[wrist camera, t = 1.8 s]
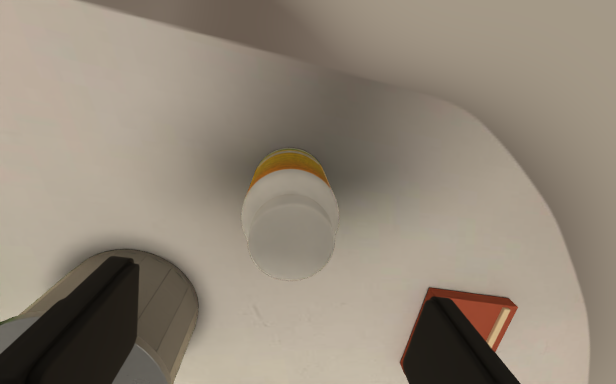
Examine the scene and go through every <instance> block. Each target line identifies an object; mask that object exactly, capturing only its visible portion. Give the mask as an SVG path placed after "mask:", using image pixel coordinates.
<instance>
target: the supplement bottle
mask: <svg viewBox="0 0 616 384" xmlns="http://www.w3.org/2000/svg"><path fill="white" fill-rule="evenodd" d="M241 222H242V228H243V231H244V234H245V236H246V238H247V240H248V250H249V253H250V256H251V258H252V260H253V262H254V263H255V264H256V266H257V267H258V268H259V269H260V270H261V271H263V272H264V273H265V274H267V275H269V276H271V277H273V278H276V279H280V280H286V281H297V280H302V279H305V278H308V277H311V276H313V275H314V274H316V273H317V272H319V271H320V270H321V269H322V268H323V267H324V266H325V265H326V264H327V263H328V261H329V260H330V258H331V256H332V253H333V250H334V245H335V235H336V232H337V229H338V225H339V208H338V204H337V201H336V198H335V195H334V193H333V191H332V189H331V186H330V184H329V182H328V179H327V177H326V175H325V172H324V170H323V168H322V166H321V165H320V163H319V162H318V161H317V160H316V159H315V158H314V157H313V156H312V155H311V154H309V153H307V152H306V151H303V150H300V149H296V148H283V149H279V150H276V151H274V152H272V153H270V154H269V155H267V156H266V157H265V158H264V159H263V160H262V161H261V162H260V164H259V165H258V167H257V169H256V171H255V173H254V176H253V179H252V182H251V184H250V187H249V189H248V192H247V194H246V197H245V200H244V203H243V207H242V213H241Z"/></svg>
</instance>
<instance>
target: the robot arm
mask: <svg viewBox="0 0 616 384" xmlns="http://www.w3.org/2000/svg"><path fill="white" fill-rule="evenodd" d="M138 297H139V264H135V263H134V260H133V259H132V258H127V257H120V256H110V257H109V258H107V259H106V260H105V261H104V262H103V263H102V264H101V265H100V266H99V267H98V268H97V269H96V270H95V271H94V272H92V273H91V274H90V275H89V276H88V277H87V278H86V279H85V280H84V281H83V282H82V283H81V284H80V285H79V286H78V287H76V288H75V289H74V290H73V291H72V292H71V293H70V294H69V295H68V296H67V297H66V298H64V299H61V300H59V301H58V302H57V303H55V304H54V305H53V306H52V307H51V308H50V309H49V310H48V311H47V312H45V313H44V314H43V315H42V316H41V317H40V318H39V319H38V320H37V321H36V322H35V323H33V324H32V325H31V326H30V327H29V328H28V329H27V330H26V331H25V332H24V333H23V334H21V335H20V336H19V337H18V338H17V339H16V340H15V341H14V342H13V343H12V344H11V345H10V346H8V347H7V348H6V349H5V350H4V351H3V352H2V353H1V354H0V384H112V382H113V381H114V379H115V377H116V376H117V374H118V372H119V371H120V369H121V367H122V366H123V364H124V362H125V360H126V359H127V357H128V355H129V354H130V352H131V350H132V349H133V347H134V344H135V342H136V338H137V325H138ZM403 369H404V373H405V375H406V377H407V380H408V382H409V384H520V383H519V381H518V380H517V379H516V378H515V376H514V375H513V374H512V373H511V372H510V370H509V369H508V368H507V367H506V365H505V364H504V363H503V362H502V360H501V359H500V358H499V357H498V356H497V354H496V353H495V352H494V351H493V349H492V348H491V347H490V346H489V345H488V343H487V342H486V341H485V340H484V338H483V337H482V336H481V335H480V333H479V332H478V331H477V330H476V329H475V327H474V326H473V325H472V324H471V322H470V321H469V320H468V319H467V318H466V316H465V315H464V314H463V313H462V311H461V310H460V309H459V308H458V307H457V305H456V304H455V303H454V302H453V300H451V299H450V298H445V297H437V296H433V297H431V298H430V299H429V300H427V301H426V302H425V304H424V306H423V309H422V311H421V314H420V317H419V319H418V322H417V325H416V327H415V330H414V333H413V335H412V338H411V341H410V343H409V346H408V349H407V351H406V354H405V357H404V360H403Z"/></svg>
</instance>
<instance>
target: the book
mask: <svg viewBox="0 0 616 384" xmlns="http://www.w3.org/2000/svg"><path fill="white" fill-rule="evenodd" d="M433 296H437V297H445V298H450V299H451V300H453V302H454V303H455V304H456V305H457V307H458V308H459V309H460V310H461V311H462V313H463V314H464V315H465V316H466V318H467V319H468V320H469V321H470V322H471V324H472V325H473V326H474V327H475V329H476V330H477V331H478V332H479V333H480V335H481V336H482V337H483V338H484V340H485V341H486V342H487V343H488V345H489V346H490V347H491V348H492V349H493V351H494V352H495V351H496V349H497V347H498V345H499V343H500V342H501V340H502V338H503V336H504V334H505V332H506V330H507V328H508V326H509V324H510V322H511V320H512V318H513V316H514V314H515V312H516V310H517V308H518V307H517V306H516V305H515V304H514V303H513V302H512V301H511V300H510V299H508V298H501V297H494V296H486V295H479V294H472V293H464V292H457V291H450V290H442V289H435V288H429V290H428V292H427V295H426V298H425V300H424V303H423V305H422V308H421V311H422V309H423V306H424V304H425V302H426V301H427V300H429V299H430V298H431V297H433ZM421 311H420V313H419V316H418V318H417V321H416V323H415V326H414V329H413V331H412V334H411V336H410V339H409V342H408V344H407V347H406V349H405V352H404V355H403V357H402V360H401V362H400V364H401V367H402V369H403V360H404V357H405V354H406V351H407V349H408V346H409V343H410V341H411V338H412V335H413V333H414V330H415V327H416V325H417V322H418V319H419V317H420V314H421ZM403 372H404V369H403ZM404 374H405V373H404Z"/></svg>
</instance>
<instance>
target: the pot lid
mask: <svg viewBox="0 0 616 384" xmlns="http://www.w3.org/2000/svg"><path fill="white" fill-rule="evenodd" d="M45 312H47V311H39V312H32V313H26V314H22V315H19V316H15V317H12V318H10V319H7V320H5V321H2V322H0V354H1V353H2V352H3V351H4V350H5V349H6V348H7V347H8V346H10V345H11V344H12V343H13V342H14V341H15V340H16V339H17V338H18V337H19V336H20V335H21V334H23V333H24V332H25V331H26V330H27V329H28V328H29V327H30V326H31V325H32V324H33V323H35V322H36V321H37V320H38V319H39V318H40V317H41V316H42V315H43V314H44V313H45ZM112 384H172V380H171V377H170V374H169V371H168V369H167V367H166V365H165V364H164V362H163V360H162V359H161V358H160V356H159V355H158V354H157V353H156V351H155V350H154V349H153V348H152V347H151V346H150V345H149V344H147V343H146V342H145V341H144V340H142V339H141V338H140V337H138V336H137V338H136V342H135V344H134V347H133V349H132V350H131V352H130V354H129V355H128V357H127V359H126V360H125V362H124V364H123V366H122V367H121V369H120V371H119V372H118V374H117V376H116V377H115V379H114V381H113V382H112Z"/></svg>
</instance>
